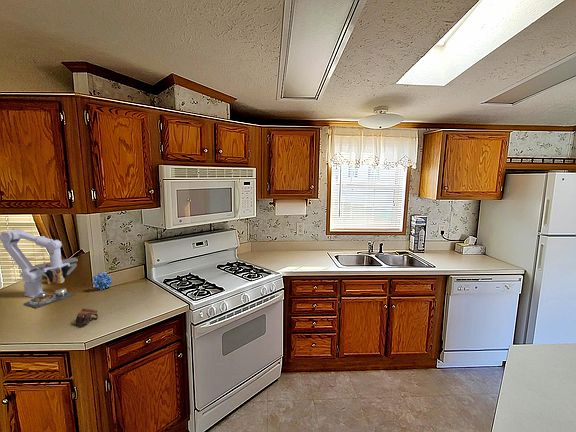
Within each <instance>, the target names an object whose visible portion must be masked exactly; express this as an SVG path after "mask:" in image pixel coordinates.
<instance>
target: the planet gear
mask: <svg viewBox="0 0 576 432" xmlns="http://www.w3.org/2000/svg"><path fill="white" fill-rule="evenodd" d="M46 294H47V292H46V291H43V293H39V294H38V296H39V297H38V296H37V297H38V298H37V299H34V302H40V301H45V300H48V299H51V298H52V296H47V295H46Z"/></svg>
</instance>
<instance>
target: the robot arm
mask: <svg viewBox="0 0 576 432" xmlns="http://www.w3.org/2000/svg"><path fill="white" fill-rule="evenodd" d="M21 239H22V240H26V241H29V242H33V243H35V245H36V246H40V247H42V248H46V250H47V252H48V254H49V262H50V264H51V266H50V267H47V268H44V269H43V271H42V270H40V269H39V268H38V267H36V266H34V265H33V264H32V263H31V262H30V260H29V259H28V258H27V257H26V255H25V254H24V253H23V251H22V250H21V249H20V248H19V247H18V243H19V242H20V240H21ZM0 241H1V242H2V244H3V248H4V250H6V252H7V253H8V254H9V256H10V257H11V258H12V259H13V261H14V262H15V263H16V264H17V266H18V267H19V268H20V270H21V273H20V276H21V278H22V281H23V282H24V284H23V289H24V294H23V296H25V297H29V298H35V297H38V296H39V295H38V294H39V293H43V292H44V291H43V284H42V279H43V278H42V277H43V276H44V275H43V272H44V273H45V274H46V275H47V277H48V278H49V280H50V282H53V272H51V270H54V269H58V268H61V270H62V274H63V278H64V279H66V278H67V272H68V270H69V267H68V266H70V263H64V264H62V260H63V259H62V252H61V251H62V250H61V248H62V246H63V243H62V241H60V240H59V239H53V238H48V237H46V236H45V235H41V236H36V235H34V234H31V233H29V232H26V231H25V230H24V229H20V228H15V229H10V230H4V231H2V232H1V233H0ZM47 277H46V278H47Z"/></svg>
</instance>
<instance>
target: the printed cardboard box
mask: <svg viewBox="0 0 576 432" xmlns="http://www.w3.org/2000/svg"><path fill="white" fill-rule="evenodd" d="M77 262H79V260H78V258H76V257H70V258H65V259H62V263H63V264H64V263H70V266H68V267H69V270H68V272H67V275H71V273H72V272H73V271H74V270H75V269H76V268H77V267H78V264H77ZM46 263H47V262H43V263H38V264H34V265H33V266H36V267H38V268H39V269H40V270H42V271H43V269H44V268H46ZM67 275H66V276H67ZM43 276H44V277H46V278H47V275H46V274H45V273H44V272H43Z"/></svg>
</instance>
